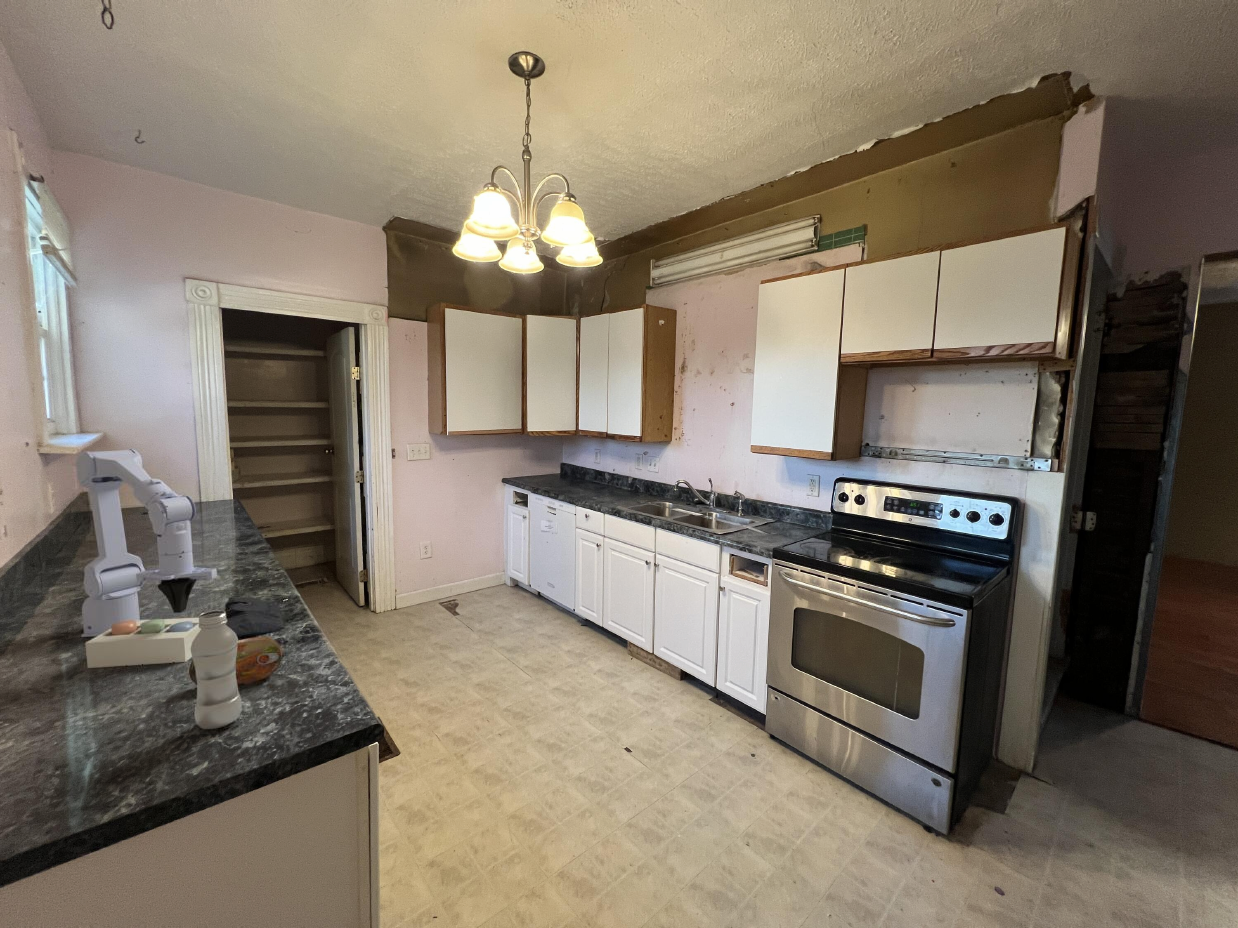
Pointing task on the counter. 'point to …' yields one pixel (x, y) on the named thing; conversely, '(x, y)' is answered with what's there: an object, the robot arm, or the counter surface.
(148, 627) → the sage green button
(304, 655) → the counter surface
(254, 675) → the tin
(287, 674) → the counter surface
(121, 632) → the terracotta button
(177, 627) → the slate blue button
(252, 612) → the black fabric pouch
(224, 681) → the plastic bottle
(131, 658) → the button console
